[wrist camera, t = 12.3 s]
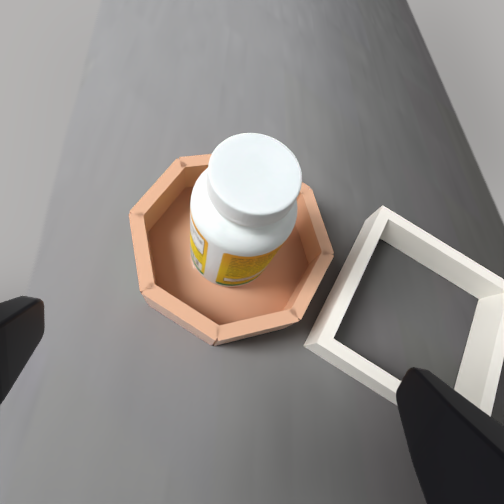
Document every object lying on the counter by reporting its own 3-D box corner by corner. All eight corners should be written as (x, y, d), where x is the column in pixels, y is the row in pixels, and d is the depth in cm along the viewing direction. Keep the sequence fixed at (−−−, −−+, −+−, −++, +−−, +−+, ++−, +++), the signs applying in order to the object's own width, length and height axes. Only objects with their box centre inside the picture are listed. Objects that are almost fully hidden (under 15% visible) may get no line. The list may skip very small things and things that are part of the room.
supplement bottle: (174, 260, 21) (161, 180, 12) (218, 202, 23) (234, 98, 14) (243, 304, 21) (279, 255, 12) (282, 242, 23) (337, 161, 14)
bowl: (258, 376, 21) (271, 376, 17) (103, 276, 21) (87, 258, 18) (334, 234, 25) (355, 214, 22) (205, 155, 26) (207, 124, 23)
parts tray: (452, 440, 21) (483, 448, 19) (303, 346, 22) (316, 343, 20) (489, 296, 26) (519, 288, 24) (365, 220, 26) (382, 205, 24)
